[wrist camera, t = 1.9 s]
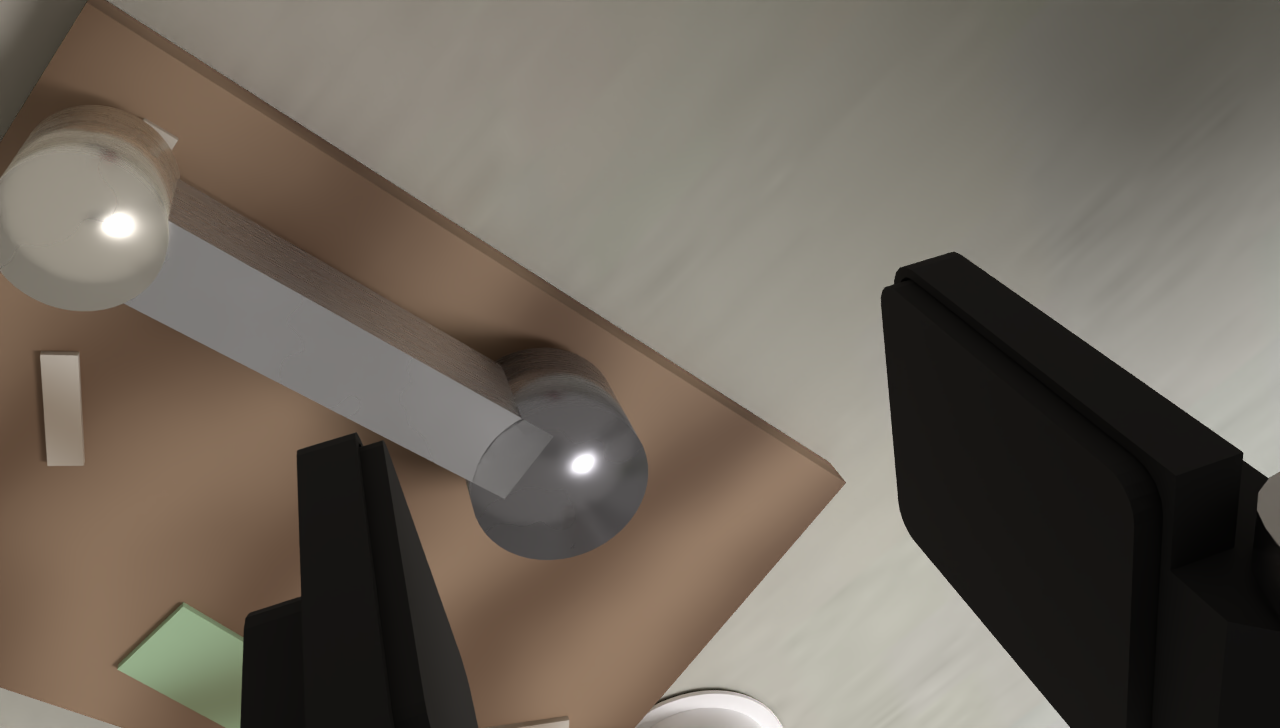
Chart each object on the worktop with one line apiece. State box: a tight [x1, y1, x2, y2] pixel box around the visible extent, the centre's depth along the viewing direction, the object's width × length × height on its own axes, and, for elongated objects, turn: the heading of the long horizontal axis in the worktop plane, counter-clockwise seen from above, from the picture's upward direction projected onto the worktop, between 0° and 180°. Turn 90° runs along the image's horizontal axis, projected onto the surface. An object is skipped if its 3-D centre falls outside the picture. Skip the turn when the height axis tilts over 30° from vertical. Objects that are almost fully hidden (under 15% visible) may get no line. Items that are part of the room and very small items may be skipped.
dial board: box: [0, 0, 846, 728], centre depth 32 cm, size 24×17×1 cm
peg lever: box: [0, 105, 648, 560], centre depth 27 cm, size 16×4×4 cm, turn 51°
